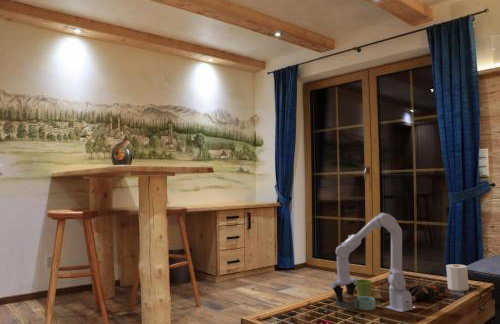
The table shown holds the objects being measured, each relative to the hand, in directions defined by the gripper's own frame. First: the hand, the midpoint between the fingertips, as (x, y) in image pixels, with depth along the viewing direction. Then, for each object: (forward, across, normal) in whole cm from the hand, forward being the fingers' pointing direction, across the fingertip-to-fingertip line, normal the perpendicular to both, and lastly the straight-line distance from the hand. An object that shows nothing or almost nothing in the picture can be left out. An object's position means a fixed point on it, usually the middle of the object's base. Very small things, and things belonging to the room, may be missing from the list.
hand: (345, 300), depth 193 cm
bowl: (+4, -8, +4) cm, 10 cm away
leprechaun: (+4, -41, +10) cm, 43 cm away
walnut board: (-1, 0, 0) cm, 1 cm away
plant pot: (+4, -20, -8) cm, 21 cm away
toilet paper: (+4, -72, +8) cm, 72 cm away
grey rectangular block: (+4, 0, 0) cm, 4 cm away
